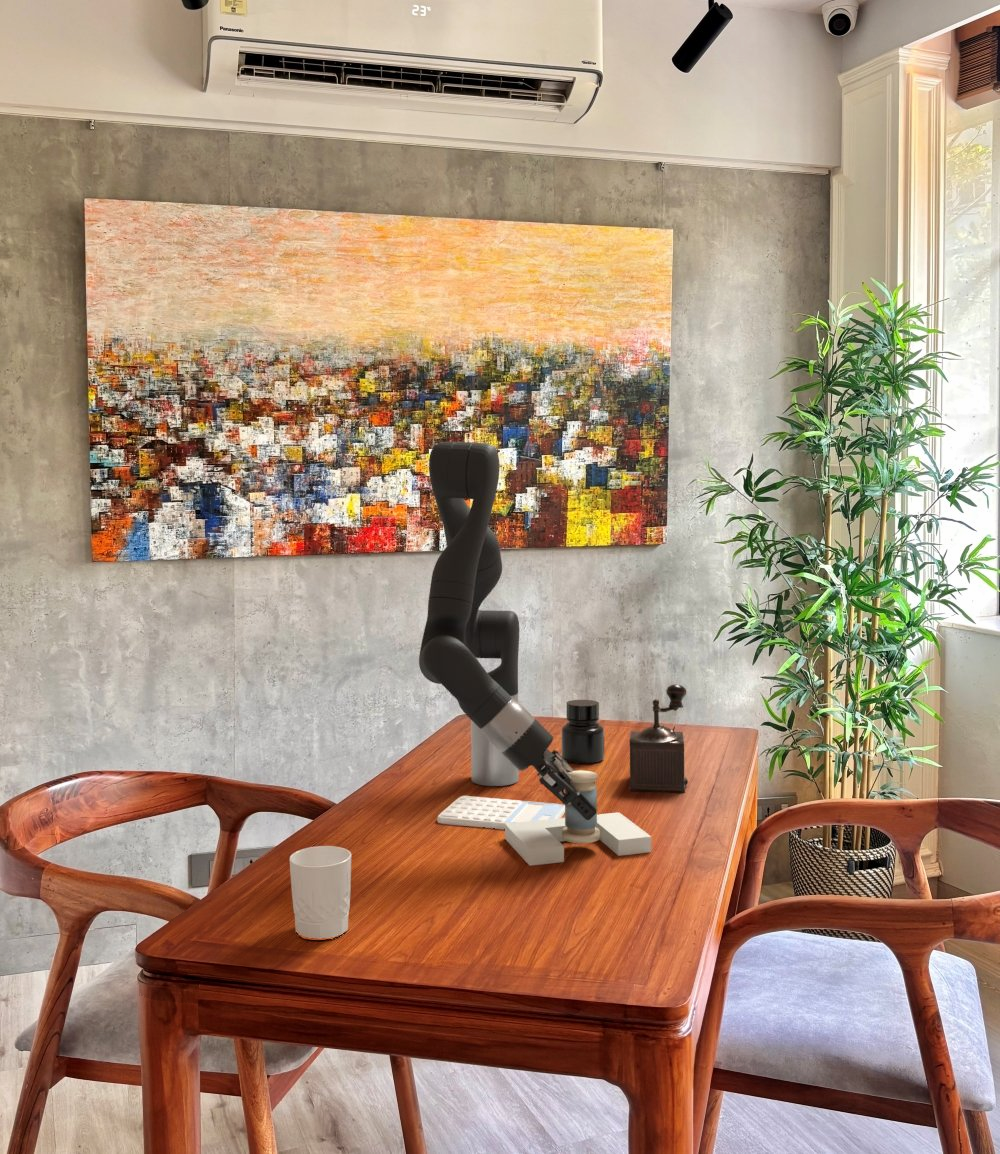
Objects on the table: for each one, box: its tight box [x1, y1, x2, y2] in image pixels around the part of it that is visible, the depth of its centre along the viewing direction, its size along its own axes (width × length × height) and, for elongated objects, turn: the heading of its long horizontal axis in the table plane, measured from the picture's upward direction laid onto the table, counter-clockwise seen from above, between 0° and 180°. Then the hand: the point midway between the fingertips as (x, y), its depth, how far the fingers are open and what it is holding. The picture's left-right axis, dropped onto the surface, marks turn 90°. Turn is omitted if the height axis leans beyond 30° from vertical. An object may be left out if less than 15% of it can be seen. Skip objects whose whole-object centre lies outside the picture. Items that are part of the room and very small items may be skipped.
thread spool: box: [562, 770, 600, 844], centre depth 169 cm, size 6×6×10 cm
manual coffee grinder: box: [629, 684, 689, 794], centre depth 208 cm, size 16×11×18 cm
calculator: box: [436, 795, 565, 830], centre depth 187 cm, size 13×20×2 cm, turn 73°
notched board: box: [504, 811, 652, 867], centre depth 172 cm, size 13×20×2 cm, turn 106°
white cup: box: [289, 845, 352, 939], centre depth 139 cm, size 8×8×10 cm
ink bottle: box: [560, 699, 605, 765], centre depth 225 cm, size 10×9×12 cm
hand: (592, 810), depth 169 cm, fingers closed on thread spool, 5 cm apart
